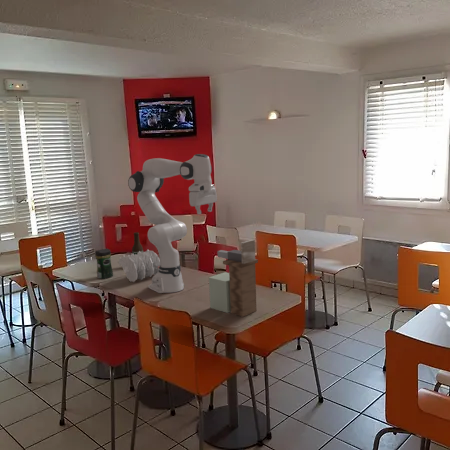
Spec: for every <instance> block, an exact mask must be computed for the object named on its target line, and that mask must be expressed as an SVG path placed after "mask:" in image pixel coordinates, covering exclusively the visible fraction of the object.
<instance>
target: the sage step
mask: <svg viewBox="0 0 450 450" xmlns="http://www.w3.org/2000/svg"><path fill="white" fill-rule="evenodd" d="M208 289H209V290H208V291H209V308H210V309H212V310H216V311H220V312H224V313H226V314H229V313H231V303H230V279H229V272H221V273H219V274H215V275H212V276H209V277H208Z"/></svg>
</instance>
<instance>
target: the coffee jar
mask: <svg viewBox="0 0 450 450" xmlns="http://www.w3.org/2000/svg"><path fill="white" fill-rule="evenodd" d="M94 253H95V255H94V256H95V259H96V273H97V274H96V276H97V279H99V278H100V279H101V280H105V278H106V279H109V278H112V277H113V276H114V272H113V267H112V261H111V256H112V254H111V253H112V252H111V249H109V248H102V249H98V250H95V252H94ZM100 279H99V280H100Z"/></svg>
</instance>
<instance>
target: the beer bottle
mask: <svg viewBox="0 0 450 450" xmlns="http://www.w3.org/2000/svg"><path fill="white" fill-rule="evenodd" d="M139 251H140V252H144V247H143V245H142V244H141V241H140V233H139V232H138V231H136V232H133V245H132V247H131V254H134V255H135V254H136V255H137V253H138V252H139Z"/></svg>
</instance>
